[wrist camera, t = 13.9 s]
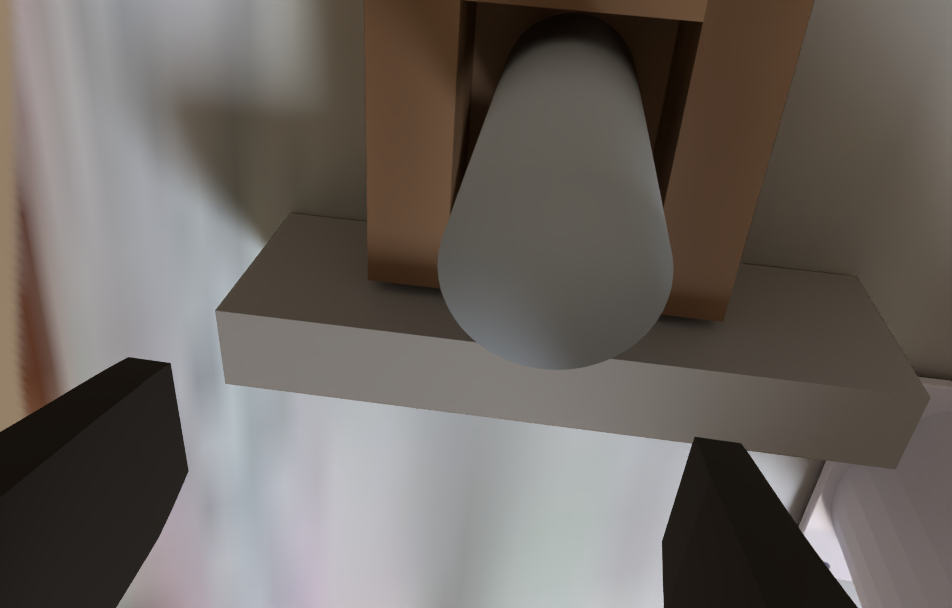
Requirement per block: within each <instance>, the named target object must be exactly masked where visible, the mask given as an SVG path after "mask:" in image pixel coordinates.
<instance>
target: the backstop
mask: <svg viewBox="0 0 952 608" xmlns="http://www.w3.org/2000/svg"><path fill="white" fill-rule="evenodd" d="M215 312H216V320H217V327H218V334H219V341H220V348H221V355H222V362H223V369H224V376H225V384H232V385H240V386H248V387H256V388H263V389H271V390H279V391H287V392H295V393H302V394H310V395H318V396H326V397H334V398H341V399H349V400H357V401H365V402H373V403H380V404H388V405H396V406H404V407H412V408H419V409H427V410H435V411H443V412H451V413H459V414H466V415H474V416H482V417H490V418H498V419H505V420H513V421H521V422H529V423H537V424H544V425H552V426H560V427H568V428H576V429H583V430H591V431H599V432H607V433H615V434H622V435H630V436H638V437H646V438H654V439H661V440H669V441H677V442H685V443H693V440H694V437H701V438H708V439H715V440H722V441H729V442H737V443H741V444H742V445H743V446H744V448H745V449H746V450H747V451H755V452H763V453H771V454H778V455H786V456H794V457H802V458H810V459H818V460H825V461H833V462H841V463H849V464H857V465H864V466H872V467H880V468H888V469H896V468H897V466H898V464H899V462H900V460H901V458H902V455H903V453H904V451H905V449H906V447H907V445H908V443H909V441H910V439H911V437H912V435H913V433H914V431H915V429H916V427H917V425H918V423H919V421H920V419H921V417H922V415H923V413H924V410H925V408H926V406H927V404H928V402H929V400H930V398H931V397H930V396H929V394H928V392H927V391H926V389H925V387H924V386H923V384H922V383H921V381H920V379H919V378H918V376H917V374H916V373H915V371H914V369H913V368H912V366H911V365H910V363H909V361H908V360H907V358H906V356H905V355H904V353H903V352H902V350H901V348H900V347H899V345H898V343H897V342H896V340H895V339H894V337H893V335H892V334H891V332H890V330H889V329H888V327H887V325H886V324H885V322H884V321H883V319H882V317H881V316H880V314H879V312H878V311H877V309H876V308H875V306H874V304H873V303H872V301H871V299H870V298H869V296H868V295H867V293H866V291H865V290H864V288H863V286H862V285H861V283H860V281H859V280H858V278H857V277H856V276H849V275H840V274H831V273H822V272H813V271H804V270H795V269H786V268H777V267H768V266H759V265H750V264H741V263H740V264H739V268H738V271H737V275H736V279H735V282H734V286H733V289H732V293H731V296H730V300H729V303H728V307H727V310H726V314H725V317H724V321H723V322H721V321H712V320H704V319H695V318H687V317H678V316H670V315H660V317H659V318H658V320H657V322H656V323H655V324H654V325H653V327H652V328H651V329H650V330H649V332H648V333H647V334H646V335H645V336H644V337H643V338H641V339H640V340H639V341H638V342H637V343H636V344H634V345H633V346H632V347H630V348H629V349H627V350H626V351H624V352H623V353H621V354H619V355H617V356H615V357H613V358H611V359H609V360H606V361H604V362H601V363H598V364H595V365H591V366H588V367H582V368H576V369H566V370H548V369H539V368H532V367H528V366H524V365H520V364H516V363H514V362H511V361H508V360H506V359H503V358H501V357H499V356H497V355H495V354H493V353H491V352H490V351H488V350H487V349H485V348H484V347H482V346H481V345H479V344H478V343H477V342H476V341H475V340H473V339H472V338H471V337H470V336H469V335H468V334H467V333H466V332H465V331H464V330H463V329H462V328H461V327H460V325H459V324H458V323H457V321H456V320H455V318H454V317H453V316H452V314H451V312H450V310H449V308H448V307H447V305H446V302H445V300H444V297H443V294H442V292H441V289H439V288H431V287H422V286H414V285H405V284H397V283H388V282H380V281H371V280H368V253H367V222H366V221H357V220H348V219H339V218H330V217H322V216H313V215H304V214H295V213H290V214H289V215H288V217H287V218H286V219H285V221H284V222H283V223H282V224H281V226H280V227H279V228H278V230H277V231H276V232H275V234H274V235H273V236H272V237H271V239H270V240H269V241H268V243H267V244H266V245H265V247H264V248H263V249H262V250H261V252H260V253H259V254H258V256H257V257H256V258H255V260H254V261H253V262H252V263H251V265H250V266H249V267H248V269H247V270H246V271H245V273H244V274H243V275H242V276H241V278H240V279H239V280H238V282H237V283H236V284H235V286H234V287H233V288H232V289H231V291H230V292H229V293H228V295H227V296H226V297H225V299H224V300H223V301H222V303H221V304H220V305H219V306H218V308H217V309H216V310H215Z"/></svg>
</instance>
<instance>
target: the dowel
mask: <svg viewBox="0 0 952 608" xmlns="http://www.w3.org/2000/svg"><path fill="white" fill-rule="evenodd" d="M438 279H439V283H440V288H441V292H442V294H443V297H444V300H445V302H446V305H447V307H448V308H449V310H450V312H451V314H452V316H453V317H454V318H455V320H456V321H457V323H458V324H459V325H460V327H461V328H462V329H463V330H464V331H465V332H466V333H467V334H468V335H469V336H470V337H471V338H472V339H473V340H475V341H476V342H477V343H478V344H479V345H481V346H482V347H484V348H485V349H487V350H488V351H490V352H491V353H493V354H495V355H497V356H499V357H501V358H503V359H506V360H508V361H511V362H514V363H516V364H520V365H524V366H528V367H532V368H539V369H548V370H566V369H576V368H582V367H588V366H591V365H595V364H598V363H601V362H604V361H606V360H609V359H611V358H613V357H615V356H617V355H619V354H621V353H623V352H624V351H626V350H627V349H629V348H630V347H632V346H633V345H634V344H636V343H637V342H638V341H639V340H640V339H641V338H643V337H644V336H645V335H646V334H647V333H648V332H649V330H650V329H651V328H652V327H653V325H654V324H655V323H656V322H657V320H658V318H659V317H660V315H661V313H662V312H663V310H664V308H665V305H666V303H667V301H668V298H669V295H670V291H671V287H672V281H673V256H672V251H671V246H670V241H669V236H668V231H667V226H666V221H665V215H664V210H663V205H662V200H661V195H660V190H659V185H658V180H657V175H656V170H655V165H654V160H653V155H652V150H651V145H650V140H649V135H648V130H647V125H646V120H645V114H644V109H643V104H642V99H641V94H640V89H639V84H638V79H637V74H636V69H635V64H634V60H633V57H632V54H631V51H630V49H629V47H628V45H627V44H626V42H625V41H624V39H623V38H622V36H621V35H620V34H619V33H618V32H617V31H616V30H615V29H614V28H612V27H611V26H610V25H609V24H607V23H605V22H604V21H602V20H600V19H597V18H595V17H593V16H589V15H585V14H578V13H564V14H558V15H554V16H551V17H548V18H545V19H543V20H541V21H539V22H537V23H536V24H534V25H533V26H531V27H530V28H529V29H528V30H526V31H525V32H524V33H523V34H522V35H521V36H520V37H519V39H518V40H517V41H516V43H515V44H514V46H513V47H512V49H511V51H510V53H509V56H508V58H507V61H506V63H505V66H504V69H503V72H502V74H501V77H500V80H499V83H498V85H497V88H496V91H495V94H494V96H493V99H492V102H491V105H490V107H489V110H488V113H487V116H486V118H485V121H484V124H483V127H482V129H481V132H480V135H479V137H478V140H477V143H476V146H475V148H474V151H473V154H472V157H471V159H470V162H469V165H468V168H467V170H466V173H465V176H464V179H463V181H462V184H461V187H460V190H459V192H458V195H457V198H456V201H455V203H454V206H453V209H452V212H451V214H450V217H449V220H448V222H447V225H446V228H445V231H444V233H443V236H442V239H441V243H440V248H439V252H438Z"/></svg>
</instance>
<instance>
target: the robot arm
mask: <svg viewBox="0 0 952 608" xmlns="http://www.w3.org/2000/svg"><path fill="white" fill-rule="evenodd" d="M918 378H919V379H920V381H921V383H922V384H923V386H924V387H925V389H926V391H927V392H928V394H929V396H930V397H931V398H930V400H929V402H928V404H927V406H926V408H925V410H924V413H923V415H922V417H921V419H920V421H919V423H918V425H917V427H916V429H915V431H914V433H913V435H912V437H911V439H910V441H909V443H908V445H907V447H906V449H905V451H904V453H903V455H902V458H901V460H900V462H899V464H898V466H897V468H896V469H888V468H880V467H872V466H864V465H857V464H849V463H841V462H833V461H826V463H825V465H824V467H823V470H822V472H821V474H820V477H819V479H818V482H817V484H816V486H815V489H814V491H813V494H812V496H811V498H810V501H809V503H808V505H807V508H806V510H805V513H804V515H803V517H802V520H801V522H800V525H799V527H798V526H797V524H796V523H795V521H794V520H793V518H792V517H791V515H790V514H789V513H788V511H787V510H786V508H785V507H784V505H783V504H782V502H781V501H780V499H779V498H778V496H777V495H776V493H775V492H774V491H773V489H772V488H771V486H770V485H769V483H768V482H767V480H766V479H765V477H764V476H763V474H762V473H761V471H760V470H759V468H758V467H757V465H756V464H755V462H754V461H753V459H752V458H751V456H750V455H749V453H748V452H747V451H746V449H745V448H744V446H743V445H742V444H741V443H737V442H729V441H722V440H715V439H708V438H701V437H694V440H693V443H692V447H691V450H690V453H689V456H688V460H687V463H686V466H685V469H684V472H683V476H682V479H681V482H680V485H679V489H678V492H677V495H676V498H675V501H674V505H673V508H672V511H671V514H670V518H669V521H668V524H667V527H666V530H665V534H664V537H663V540H662V560H663V594H664V608H858V607H857V606H856V605H855V603H854V602H853V601H852V599H851V598H850V597H849V596H848V594H847V593H846V592H845V590H844V589H843V588H842V586H841V585H840V584H839V582H838V581H837V580H836V579H840V580H847V581H853V584H854V586H855V589H856V592H857V595H858V598H859V600H860V603H861V606H862V608H952V381H949V380H940V379H932V378H924V377H918ZM187 473H188V465H187V459H186V453H185V447H184V441H183V435H182V429H181V423H180V417H179V411H178V405H177V399H176V393H175V387H174V381H173V375H172V369H171V363H166V362H159V361H152V360H145V359H137V358H130V357H128V358H126V359H124V360H122V361H120V362H118V363H117V364H115V365H113V366H111V367H109V368H108V369H106V370H104V371H102V372H101V373H99V374H97V375H95V376H94V377H92V378H90V379H89V380H87V381H85V382H84V383H82V384H80V385H79V386H77V387H75V388H74V389H72V390H70V391H69V392H67V393H65V394H64V395H62V396H60V397H59V398H57V399H55V400H54V401H52V402H50V403H49V404H47V405H45V406H44V407H42V408H40V409H39V410H37V411H35V412H34V413H32V414H30V415H28V416H27V417H25V418H23V419H22V420H20V421H18V422H17V423H15V424H13V425H12V426H10V427H8V428H6V429H5V430H3V431H1V432H0V608H116V607H117V605H118V604H119V602H120V600H121V599H122V597H123V596H124V594H125V592H126V591H127V589H128V587H129V586H130V584H131V583H132V581H133V579H134V578H135V576H136V574H137V573H138V571H139V569H140V568H141V566H142V564H143V563H144V561H145V559H146V558H147V556H148V555H149V553H150V551H151V549H152V548H153V546H154V544H155V543H156V541H157V539H158V538H159V536H160V534H161V532H162V529H163V527H164V525H165V523H166V521H167V519H168V517H169V515H170V512H171V510H172V508H173V506H174V504H175V501H176V499H177V497H178V494H179V492H180V490H181V487H182V485H183V483H184V480H185V478H186V476H187Z"/></svg>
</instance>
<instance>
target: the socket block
mask: <svg viewBox="0 0 952 608" xmlns="http://www.w3.org/2000/svg"><path fill="white" fill-rule="evenodd" d="M813 4H814V0H364V32H365V106H366V179H367V253H368V280H371V281H380V282H388V283H397V284H405V285H414V286H422V287H431V288H439V289H441V288H440V283H439V279H438V252H439V248H440V243H441V239H442V236H443V233H444V231H445V228H446V225H447V222H448V220H449V217H450V214H451V212H452V209H453V206H454V203H455V201H456V198H457V195H458V192H459V190H460V187H461V184H462V181H463V179H464V176H465V173H466V170H467V168H468V165H469V162H470V159H471V157H472V154H473V151H474V148H475V146H476V143H477V140H478V137H479V135H480V132H481V129H482V127H483V124H484V121H485V118H486V116H487V113H488V110H489V107H490V105H491V102H492V99H493V96H494V94H495V91H496V88H497V85H498V83H499V80H500V77H501V74H502V72H503V69H504V66H505V63H506V61H507V58H508V56H509V53H510V51H511V49H512V47H513V46H514V44H515V43H516V41H517V40H518V39H519V37H520V36H521V35H522V34H523V33H524V32H525V31H526V30H528V29H529V28H530V27H531V26H533V25H534V24H536V23H537V22H539V21H541V20H543V19H545V18H548V17H551V16H554V15H558V14H564V13H578V14H585V15H589V16H593V17H595V18H597V19H600V20H602V21H604V22H605V23H607V24H609V25H610V26H611V27H612V28H614V29H615V30H616V31H617V32H618V33H619V34H620V35H621V36H622V38H623V39H624V41H625V42H626V44H627V45H628V47H629V49H630V51H631V54H632V57H633V60H634V64H635V69H636V74H637V79H638V84H639V89H640V94H641V99H642V104H643V109H644V114H645V120H646V125H647V130H648V135H649V140H650V145H651V150H652V155H653V160H654V165H655V170H656V175H657V180H658V185H659V190H660V195H661V200H662V205H663V210H664V215H665V221H666V226H667V231H668V236H669V241H670V246H671V251H672V256H673V281H672V287H671V291H670V295H669V298H668V301H667V303H666V305H665V308H664V310H663V312H662V313H661V315H670V316H678V317H687V318H695V319H704V320H712V321H721V322H723V321H724V317H725V314H726V310H727V307H728V303H729V300H730V296H731V293H732V289H733V286H734V282H735V279H736V275H737V271H738V268H739V264H740V261H741V257H742V254H743V250H744V247H745V243H746V240H747V236H748V233H749V229H750V226H751V222H752V219H753V215H754V212H755V208H756V205H757V201H758V197H759V194H760V190H761V187H762V183H763V180H764V176H765V173H766V169H767V166H768V162H769V159H770V155H771V152H772V148H773V145H774V141H775V138H776V134H777V131H778V127H779V123H780V120H781V116H782V113H783V109H784V106H785V102H786V99H787V95H788V92H789V88H790V85H791V81H792V78H793V74H794V71H795V67H796V64H797V60H798V57H799V53H800V49H801V46H802V42H803V39H804V35H805V32H806V28H807V25H808V21H809V18H810V14H811V11H812V7H813Z"/></svg>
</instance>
